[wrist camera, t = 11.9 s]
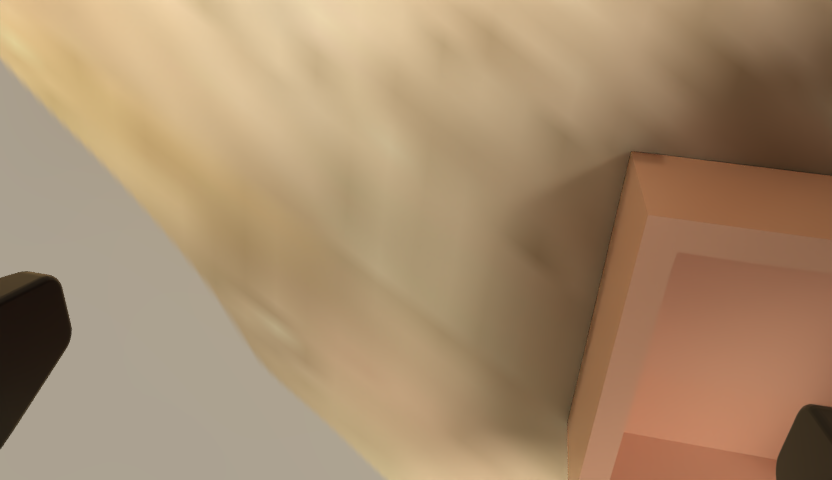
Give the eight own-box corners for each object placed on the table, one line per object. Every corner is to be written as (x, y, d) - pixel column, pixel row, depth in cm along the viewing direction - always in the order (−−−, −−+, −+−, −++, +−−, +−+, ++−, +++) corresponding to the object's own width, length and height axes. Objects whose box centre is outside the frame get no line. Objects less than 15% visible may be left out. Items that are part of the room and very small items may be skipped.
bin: (1041, 201, 16) (1168, 286, 13) (879, 480, 21) (941, 595, 18) (630, 150, 18) (647, 214, 14) (567, 423, 23) (568, 520, 19)
